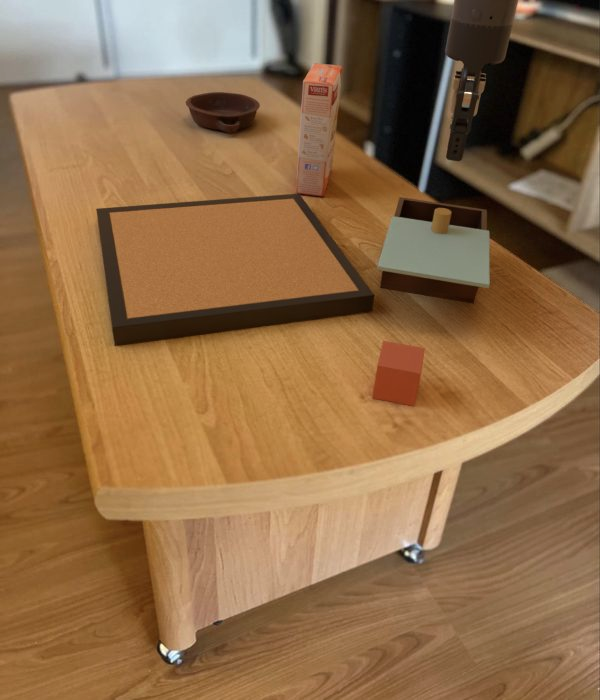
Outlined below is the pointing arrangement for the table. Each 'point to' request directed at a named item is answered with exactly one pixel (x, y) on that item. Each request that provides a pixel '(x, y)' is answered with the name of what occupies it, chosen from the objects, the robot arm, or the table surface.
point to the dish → (223, 110)
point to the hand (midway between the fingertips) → (454, 154)
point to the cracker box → (318, 128)
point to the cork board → (222, 267)
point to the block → (398, 373)
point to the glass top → (437, 250)
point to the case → (425, 285)
